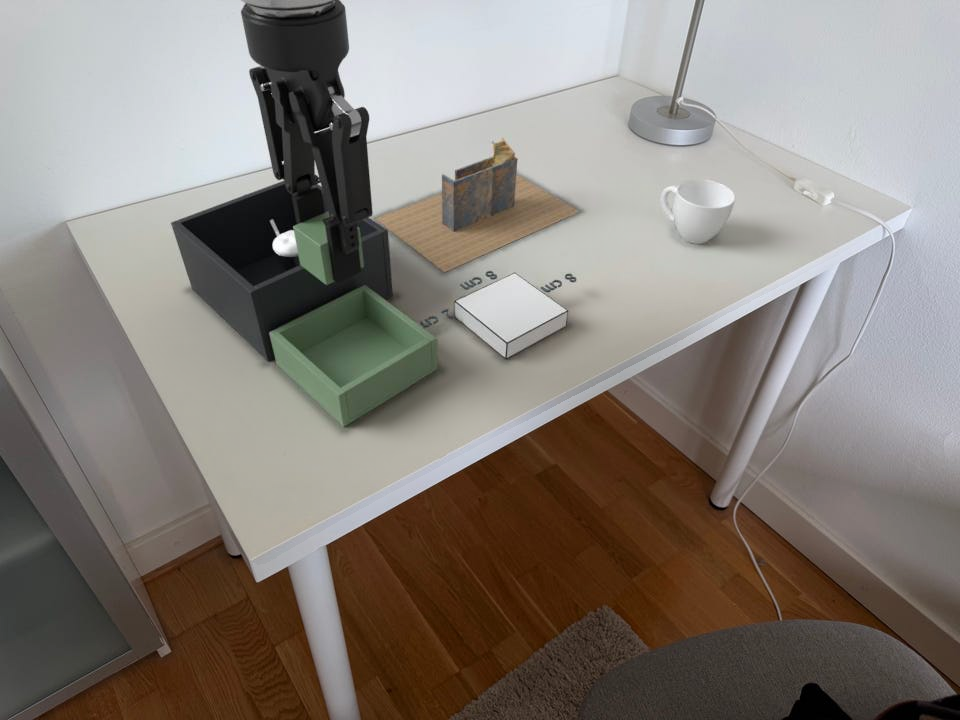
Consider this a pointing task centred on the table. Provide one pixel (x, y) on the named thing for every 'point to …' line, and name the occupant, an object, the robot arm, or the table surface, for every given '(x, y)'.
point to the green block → (317, 248)
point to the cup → (698, 208)
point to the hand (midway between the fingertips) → (331, 263)
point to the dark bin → (266, 264)
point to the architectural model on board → (476, 212)
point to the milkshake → (285, 249)
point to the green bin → (354, 353)
